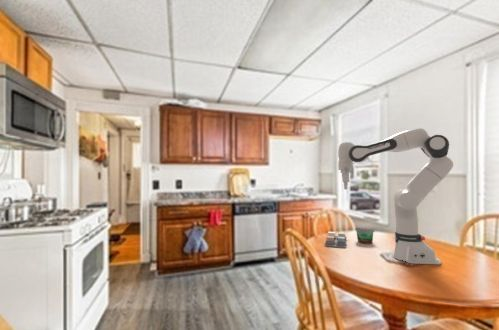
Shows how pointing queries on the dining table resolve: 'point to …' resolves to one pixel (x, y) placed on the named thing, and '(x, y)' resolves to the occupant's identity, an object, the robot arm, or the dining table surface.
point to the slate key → (341, 239)
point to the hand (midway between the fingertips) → (345, 188)
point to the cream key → (331, 234)
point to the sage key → (341, 234)
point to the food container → (365, 235)
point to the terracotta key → (330, 238)
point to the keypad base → (336, 243)
